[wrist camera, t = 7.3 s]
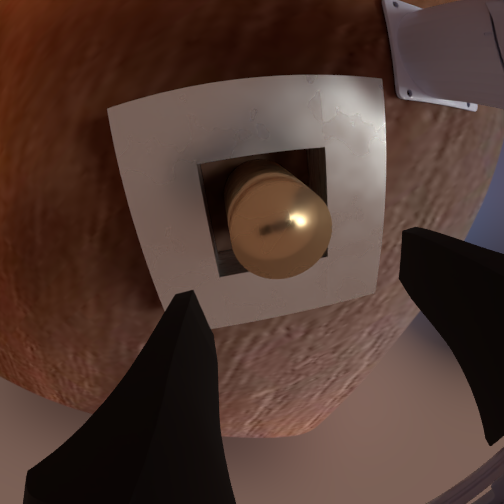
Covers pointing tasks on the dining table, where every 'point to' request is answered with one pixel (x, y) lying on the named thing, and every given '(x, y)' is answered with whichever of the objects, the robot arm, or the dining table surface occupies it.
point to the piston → (275, 220)
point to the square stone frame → (244, 144)
